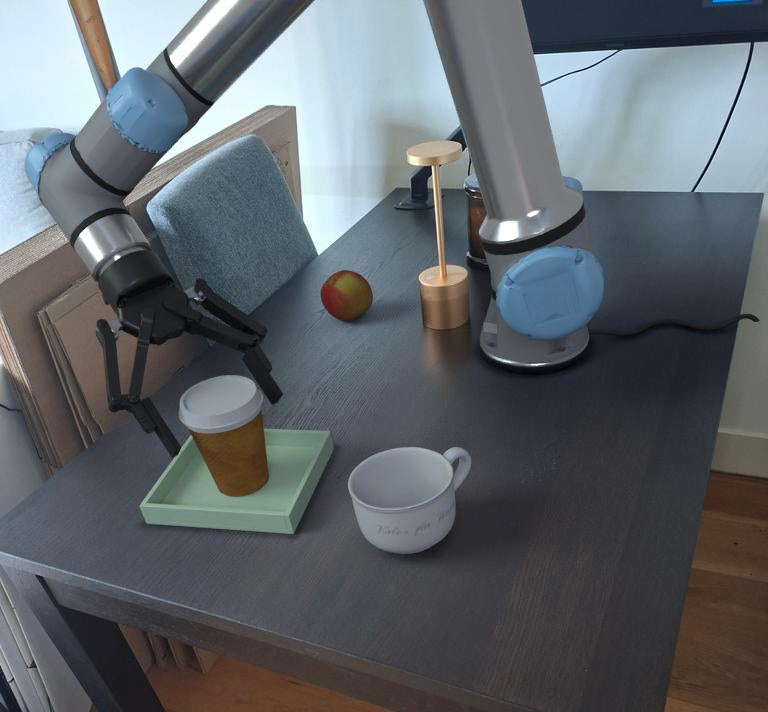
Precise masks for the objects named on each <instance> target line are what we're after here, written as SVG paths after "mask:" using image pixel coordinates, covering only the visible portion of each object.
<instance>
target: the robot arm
mask: <svg viewBox="0 0 768 712" xmlns="http://www.w3.org/2000/svg"><path fill="white" fill-rule="evenodd" d="M315 1H316V0H206V1H205V3H204V4H203V5H202V6H201V7H200V8H199V9H198V10H197V11H196V12H195V14H194V15H193V16H192V17H191V18H190V19H189V20H188V21H187V22H186V24H185V25H184V26H183V27H182V28H181V30H180V31H179V32H178V33H177V34H176V36H174V37H173V39H171V41H170V42H169V43H168V44H167V45H166V47H164V49H163V50H162V51H160V53H159V54H158V55H157V56H156V57H155V59H154V60H153V61H152V62H151V63H150V64H149V65H148V67H147V68H145V69H144V68H142V67H140V66H135V67H132V68H129V69H128V70H127V71H126V72H125V73H124V74H123V76H122V77H121V78H120V79H118V81H116V83H114V84H113V85H111V87H110V88H109V90H107V94H106V96H105V97H104V98H103V100H102V102H101V103H99V105H98V106H97V108H96V109H95V110H94V112H93V113H92V115H91V116H90V117H89V119H88V120H87V121H86V122H85V124H84V125H83V126H82V127H81V129H80V131H79V132H78V133H77V134H76V135H75V134H73V133H70V132H55V133H52V134H48V135H47V136H44V137H43V140H42V141H41V142H38V143H37V142H36V143H34V144H33V145H32V146H31V148H30V149H29V150H28V151H27V154H26V156H25V159H24V171H25V175H26V177H27V179H28V180H29V183H30V184H31V186H32V188H33V190H34V191H35V193H36V194H37V197H38V200H39V202H40V204H41V205H42V206H43V207H44V208H45V209H46V210H47V212H48V213H49V215H50V216H51V218H52V219H53V220H54V221H55V223H56V224H57V226H58V227H59V229H60V230H61V232H62V233H63V235H64V236H65V237H66V239H67V240H68V242H69V244H70V246H71V248H72V249H73V251H74V252H75V253H76V255H77V257H78V259H79V260H80V261H81V263H82V264H83V266H84V267H85V269H86V270H87V272H88V274H89V275H90V277H91V279H93V281H94V282H95V283H98V284H97V287H98V289H99V291H100V293H101V294H102V295H103V297H104V299H105V300H106V301H107V303H108V305H109V306H110V307H111V309H112V311H113V312H114V313H115V315H116V317H117V318H115V319H111V320H108V321H107V320H106V319H105V318H99V319H97V321H96V322H95V323H96V324H95V337H96V338H97V341H98V342H99V344H100V346H101V348H102V354H103V355H102V356H103V365H104V377H105V389H106V399H107V408H108V411H110V412H111V413H118V412H119V411H127V412H128V413H130V414H132V415H133V417H134V418H135V420H136V421H137V423H138V424H139V426H140V427H141V429H142V431H143V432H144V433H145V434H147V435H150V434H152V433H155V434H156V436H157V437H158V439H159V441H160V442H161V444H162V445H163V447H164V448H165V450H166V451H167V453H168V454H169V455H170V457H171V459H174V457H175V456H177V455H178V454H179V452H180V450H181V448H182V446H181V444H180V443H179V441H178V440H177V439H178V438H176V437H175V434H173V432H172V431H171V429H170V427H169V426H168V424H167V423H166V421H165V420H164V418H163V417H162V415H161V413H160V412H159V411H158V408H156V405H155V404H154V403H153V401H152V400H151V398H150V397H149V396H146V397H145V398H142V399H141V394H142V393H141V392H142V388H143V381H144V376H145V370H146V366H147V365H146V364H147V359H148V353H149V352H148V351H149V347H150V345H155V346H157V347H159V346H162V345H164V344H165V343H166V342H167V341H168V340H172V339H177V338H180V337H181V336H182V335H183V333H184V332H185V333H188V334H190V335H198V336H201V337H203V338H206V339H208V340H211V341H213V342H216V343H219V344H220V345H223V346H226V347H228V348H230V349H233V350H236V351H238V352H240V353H242V354H244V355H243V357H242V359H241V360H242V363H244V365H245V366H246V369H248V371H249V372H250V374H251V376H252V377H253V379H254V380H255V382H256V383H257V384H258V386H259V388H260V389H261V392H262V393H263V395H265V397H266V399H267V400H268V402H269V403H270V404H271V406H274V405H276V404H277V403H279V401H280V400H281V398H282V397H283V396H284V392H283V391H282V389H281V388H280V387H279V385H278V384H277V382H276V381H275V379H274V377H273V376H272V375H271V372H272V370H273V366H272V365H273V364H272V362H270V360H269V358H268V357H267V355H266V354H265V352H264V350H263V349H262V347H261V345H260V344H262V343H263V341H264V340H265V338H266V336H267V333H268V329H267V327H266V326H265V325H263V324H262V323H260V322H259V321H257V320H256V319H254V318H253V317H252V316H250V315H248V314H247V313H245V312H244V311H243V310H241V309H240V308H238V307H237V306H235V305H234V304H232V303H231V302H230V301H228V300H226V299H225V298H223V297H222V296H221V295H219V294H218V293H216V292H215V291H214V290H213V289H212V288H211V287H210V285H209V284H208V283H207V281H206V280H204V278H197V279H196V280H195V282H194V285H192V286H190V287H189V288H187V289H185V290H183V289H181V288H180V287H179V286H177V284H176V283H175V281H174V279H173V277H172V275H171V274H170V272H169V271H168V269H167V268H166V266H165V265H164V263H163V262H162V260H161V259H160V257H159V256H158V254H157V253H156V252H155V251H153V247H152V245H151V243H150V242H149V240H148V239H147V237H146V236H145V234H144V233H143V232H142V229H141V228H140V226H139V225H138V223H137V222H136V220H135V219H134V218H133V216H132V215H131V214H130V212H129V210H128V207H127V206H126V204H125V203H124V201H125V200H126V199H127V197H128V196H130V195H131V193H132V192H133V191H134V190H135V188H136V187H137V186H138V185H139V184H140V182H141V181H142V180H143V179H144V178H145V177H146V176H147V175H148V174H149V172H151V170H152V169H153V168H154V167H155V166H156V165H157V164H158V162H159V161H160V160H161V159H162V158H163V157H164V156H165V155H166V154H167V153H168V152H169V151H170V150H171V149H172V148H173V147H174V146H175V145H177V143H178V142H179V140H180V139H181V138H183V137H184V136H185V135H186V134H187V133H190V131H191V130H192V129H193V128H194V127H195V126H196V125H198V123H199V121H200V120H201V118H202V117H203V116H205V114H207V112H208V111H209V110H211V108H212V107H213V106H214V105H215V104H216V102H217V101H218V100H219V99H220V98H221V97H222V96H223V95H224V94H225V93H226V92H227V91H228V90H229V89H230V88H231V87H232V86H233V85H234V84H235V83H236V82H237V81H238V80H239V79H240V78H241V77H242V76H243V75H244V74H245V73H246V71H247V70H248V69H249V68H250V67H252V65H253V64H254V63H255V62H256V61H257V60H258V59H260V58H261V56H262V55H263V54H264V53H265V52H266V51H267V50H268V49H269V48H270V47H271V46H272V45H273V44H274V43H275V42H276V41H277V40H278V39H279V37H280V36H282V35H283V34H284V33H285V31H287V30H288V28H289V27H290V26H292V24H293V23H294V22H295V21H296V20H297V19H298V18H299V17H300V16H302V14H303V13H304V12H305V11H306V10H307V9H308V8H309V7H310V6H311V5H312V4H313V3H314V2H315ZM422 3H423V5H424V9H425V13H426V15H427V18H428V22H429V25H430V28H431V29H430V30H431V31H432V35H433V38H434V42H435V46H436V49H437V52H438V55H439V59H440V62H441V65H442V68H443V72H444V75H445V79H446V83H447V85H448V88H449V92H450V94H451V99H452V102H453V105H454V108H455V111H456V114H457V118H458V122H459V125H460V128H461V132H462V134H463V138H464V141H465V142H464V143H465V145H466V149H467V151H468V154H469V158H470V162H471V165H472V169H473V171H474V175H475V177H476V181H477V185H478V189H479V191H480V194H481V198H482V201H483V205H484V208H485V211H486V215H485V217H484V218H483V221H482V223H481V225H480V227H479V228H478V236H479V239H480V242H481V246H482V249H483V252H484V255H485V258H486V262H487V266H488V269H489V271H490V294H491V295H490V301H489V306H488V309H487V312H486V315H485V318H484V321H483V322H482V323H483V324H482V328H481V331H480V335H479V353H480V356H481V357H482V359H483V360H484V362H486V363H487V364H489V365H490V366H492V367H494V368H497V369H499V370H502V371H505V372H509V373H515V374H524V375H525V374H526V375H527V374H528V375H535V374H537V375H538V374H546V373H552V372H557V371H561V370H563V369H567V368H569V367H571V366H573V365H575V364H577V363H579V362H580V361H581V360H582V359H583V358H584V357H585V356H586V354H587V353H588V351H589V344H590V335H604V336H605V335H607V336H616V337H617V336H618V337H628V336H629V337H630V336H634V335H636V334H640V333H642V332H644V331H646V330H647V329H649V328H652V327H653V326H657V325H658V326H659V325H663V324H665V325H666V324H671V325H678V326H682V327H686V328H690V329H694V330H701V331H717V330H720V329H723V328H726V327H729V326H731V325H733V324H735V323H737V322H739V321H741V320H745V319H747V320H751V322H754V323H759V322H760V319H759V317H757V316H756V315H754V314H752V313H742V314H739V315H736V316H734V317H732V318H729V319H727V320H726V321H723V322H720V323H716V324H700V323H694V322H690V321H687V320H682V319H677V318H659V319H658V318H657V319H654V320H650V321H649V322H646V323H644V324H642V325H641V326H639V327H637V328H634V329H629V330H617V329H601V328H599V329H594V328H593V329H591V328H588V326H587V324H588V323H589V322H590V321H591V320H592V318H593V317H594V316H595V314H596V313H597V312H598V310H599V308H600V306H601V304H602V301H603V298H604V291H605V275H604V271H603V267H602V265H601V264H600V263H599V261H598V258H597V256H596V252H595V248H594V244H593V240H592V235H591V231H590V225H589V221H588V216H587V211H586V208H585V204H584V202H585V198H584V191H583V190H584V189H583V184H582V182H581V180H579V179H577V178H575V177H572V176H566V175H564V176H563V174H562V170H561V169H562V168H561V165H560V162H559V161H560V160H559V156H558V152H557V148H556V144H555V139H554V135H553V130H552V126H551V122H550V119H549V118H550V117H549V113H548V110H547V106H546V101H545V97H544V92H543V88H542V84H541V80H540V75H539V71H538V67H537V62H536V58H535V53H534V50H533V46H532V40H531V37H530V31H529V28H528V23H527V20H526V15H525V10H524V7H523V3H522V0H422ZM190 302H192V303H194V304H195V306H198V307H199V306H201V307H202V308H203V309H204V310H205V311H207V312H208V313H209V314H211V315H212V316H214V317H215V318H217V319H218V320H220V321H221V322H220V321H217V320H215V319H213V318H210V317H208V316H206V315H203V313H202V312H201V311H199V310H197V309H194V308H192V307H189V303H190ZM222 322H223V323H222ZM120 331H122V332H124V333H126V334H128V335H130V336H132V337H135V338H136V339H137V340H136V347H135V351H134V357H133V358H134V359H133V364H132V370H131V374H130V380H129V387H128V393H126V394H125V393H124V394H122V391H121V390H122V389H121V381H120V380H121V379H120V370H119V359H118V350H117V341H118V340H119V338H120V337H119V336H120Z"/></svg>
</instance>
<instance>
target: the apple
mask: <svg viewBox="0 0 768 712" xmlns="http://www.w3.org/2000/svg"><path fill="white" fill-rule="evenodd" d="M372 290H373V289H372V287H371V284H370V283H369V281H368V280H367V279H366V278H365V277H364V276H363V275H361V274H360V273H358V272H356V271H353V270H349V269H343V270H342V269H341V270H339V271H336V272H335V273H333V274H331V275H330V276H329V277H328V278H327V279H326V280H325V282H324V283H323V284H322V286H321V288H320V300H321V303H322V305H323V307H324V309H325V310H326V312H327V313H328V314H329V315H331V316H332V317H333V318H334V319H336V320H338V321H340V322H347V323H348V322H352V321H354V320H355V319H356V318H358V317H361V316H362V315H364V313H365V312H366V311H368V310H369V309H370V308H371V307H372V305H373V300H374V295H373V291H372Z"/></svg>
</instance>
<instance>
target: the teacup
mask: <svg viewBox="0 0 768 712" xmlns="http://www.w3.org/2000/svg"><path fill="white" fill-rule="evenodd" d="M458 459H459V462H458V465H457V468H456V470H455V471H454V468H453V466H452V465H453V463H454V461H456V460H458ZM471 467H472V457H471V455H470V454H469V452H468V451H467V450H466V449H464V448H462V447H460V446H453V447H450V448H449V449H447V450H446V451H444V453H443V454H441V453H439V452H437V451H434V450H432V449H428V448H424V447H420V446H419V447H417V446H406V447H405V446H404V447H396V448H391V449H386V450H384V451H380V452H377V453H375V454H373V455H371V456H369V457H367V458H365V459H364V460H362V461H361V462H360V463H359V464H358V465H357V466H356V467H355V468H353V470H352V472H351V473H350V475H349V478H348V481H347V489H348V492H349V495H350V497H351V500H352V506H353V510H354V513H355V518H356V521H357V524H358V527H359V530H360V531H361V533H362V535H363V537H364V538H365V539H366V540H367V541H368V542H369V543H370V544H371V545H372V546H374V547H376V548H377V549H379V550H381V551H384V552H388V553H394V554H399V555H411V554H417V553H421V552H424V551H426V550H428V549H430V548H431V547H433V546H435V545H436V544H438V543H439V542H440V541H442V540H443V539H444V538H445V537H446V536H447V535H449V533H450V531H451V530H452V528H453V526H454V524H455V520H456V514H457V513H456V512H457V503H456V502H457V501H456V491H457V490H458V488H459V487H460V486H461V485H462V483H463V482H464V481H465V480H466V478H467V477H468V475H469V473H470V471H471Z"/></svg>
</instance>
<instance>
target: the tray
mask: <svg viewBox="0 0 768 712" xmlns="http://www.w3.org/2000/svg"><path fill="white" fill-rule="evenodd" d="M264 437H265V446H266V455H267V464H268V473H269V479H268V481H267V483H266V484H265V486H263V487H262V488H261V489H260V490H258V491H256V492H254V493H252V494H249V495H246V496H240V497H231V496H227V495H224V494H222V493H221V492H220V491H219V490H218V488H217V485H216V484H215V481H214V479H213V477H212V476H211V473H210V471H209V469H208V467H207V465H206V464H205V461H204V459H203V457H202V455H201V453H200V451H199V449H198V447H197V445H196V443H195V441H194V439H193V437H192V435H191V434H190V435H189V437H188V438H187V440H186V441H185V442H184V444H183V445H182V446H181V450H180V452H179V454H178V455H177V456H175V457H173V458H172V460H171V461H170V463H169V464H168V466H167V467H166V468H165V470H164V471H163V473H162V474H161V475H160V476H159V478H158V479H157V481H155V484H154V485H153V486H152V487H151V489H150V491H149V492H148V493H147V494H146V496H145V497H144V499H143V500H142V501H141V503H140V505H138V507H139V509H140V511H141V513H142V516H143V518H144V519H143V520H144V521H145V523H146V525H158V526H159V525H160V526H161V525H162V526H174V527H186V528H187V527H189V528H200V529H201V528H202V529H214V530H215V529H218V530H230V531H244V532H256V533H257V532H258V533H273V534H284V535H285V534H286V535H287V534H288V535H294V534H295V532H296V531H297V528H298V525H299V523H300V521H301V520H302V518H303V515H304V513H305V511H306V509H307V506H308V505H309V502H310V501H311V498H312V496H313V494H314V492H315V490H316V488H317V486H318V484H319V481H320V479H321V478H322V475H323V473H324V471H325V469H326V466H327V465H328V462H329V460H330V458H331V456H332V454H333V452H334V450H335V446H334V441H333V436H332V432H331V430H317V429H315V430H313V429H312V430H311V429H289V428H288V429H285V428H284V429H283V428H264Z"/></svg>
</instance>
